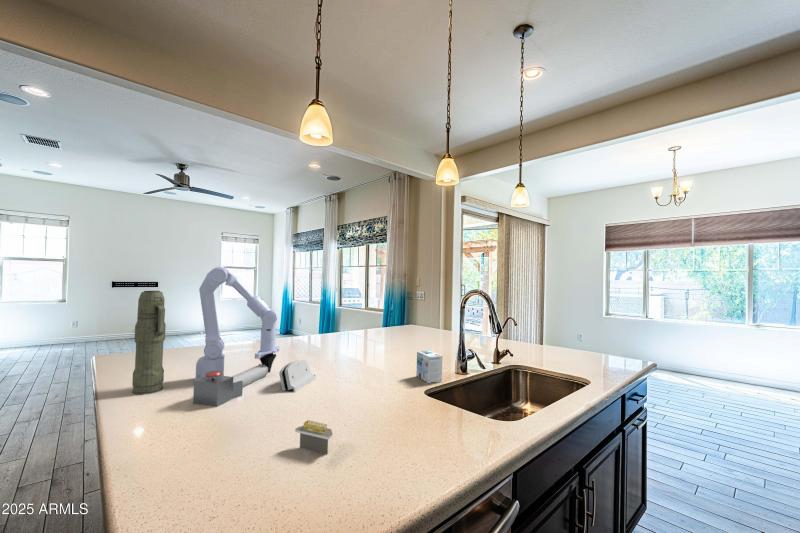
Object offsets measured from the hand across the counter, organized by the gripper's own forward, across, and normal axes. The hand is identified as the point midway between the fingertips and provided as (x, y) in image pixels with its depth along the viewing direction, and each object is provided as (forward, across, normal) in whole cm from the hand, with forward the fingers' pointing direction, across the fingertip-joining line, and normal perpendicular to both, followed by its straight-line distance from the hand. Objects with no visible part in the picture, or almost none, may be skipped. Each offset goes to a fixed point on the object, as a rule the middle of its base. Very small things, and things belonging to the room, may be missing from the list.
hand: (266, 372), depth 143 cm
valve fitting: (+1, -28, 0) cm, 28 cm away
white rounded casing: (+2, -6, -17) cm, 18 cm away
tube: (+2, -14, +1) cm, 14 cm away
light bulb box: (+2, +16, -65) cm, 67 cm away
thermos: (+2, -27, +29) cm, 40 cm away
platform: (+2, -50, -46) cm, 67 cm away
